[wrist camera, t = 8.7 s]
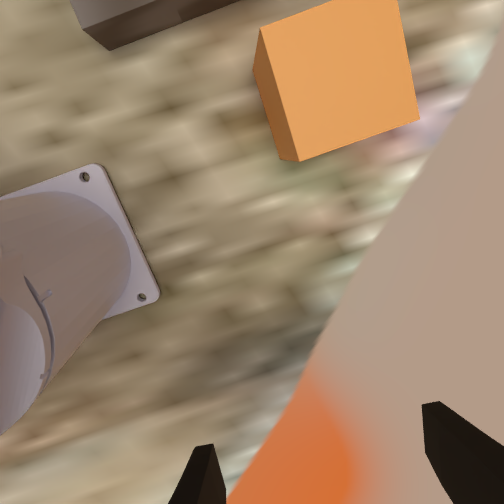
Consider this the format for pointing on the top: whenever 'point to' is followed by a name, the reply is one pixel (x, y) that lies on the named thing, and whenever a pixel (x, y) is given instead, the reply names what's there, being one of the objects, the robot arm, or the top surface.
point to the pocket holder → (136, 17)
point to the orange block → (334, 76)
